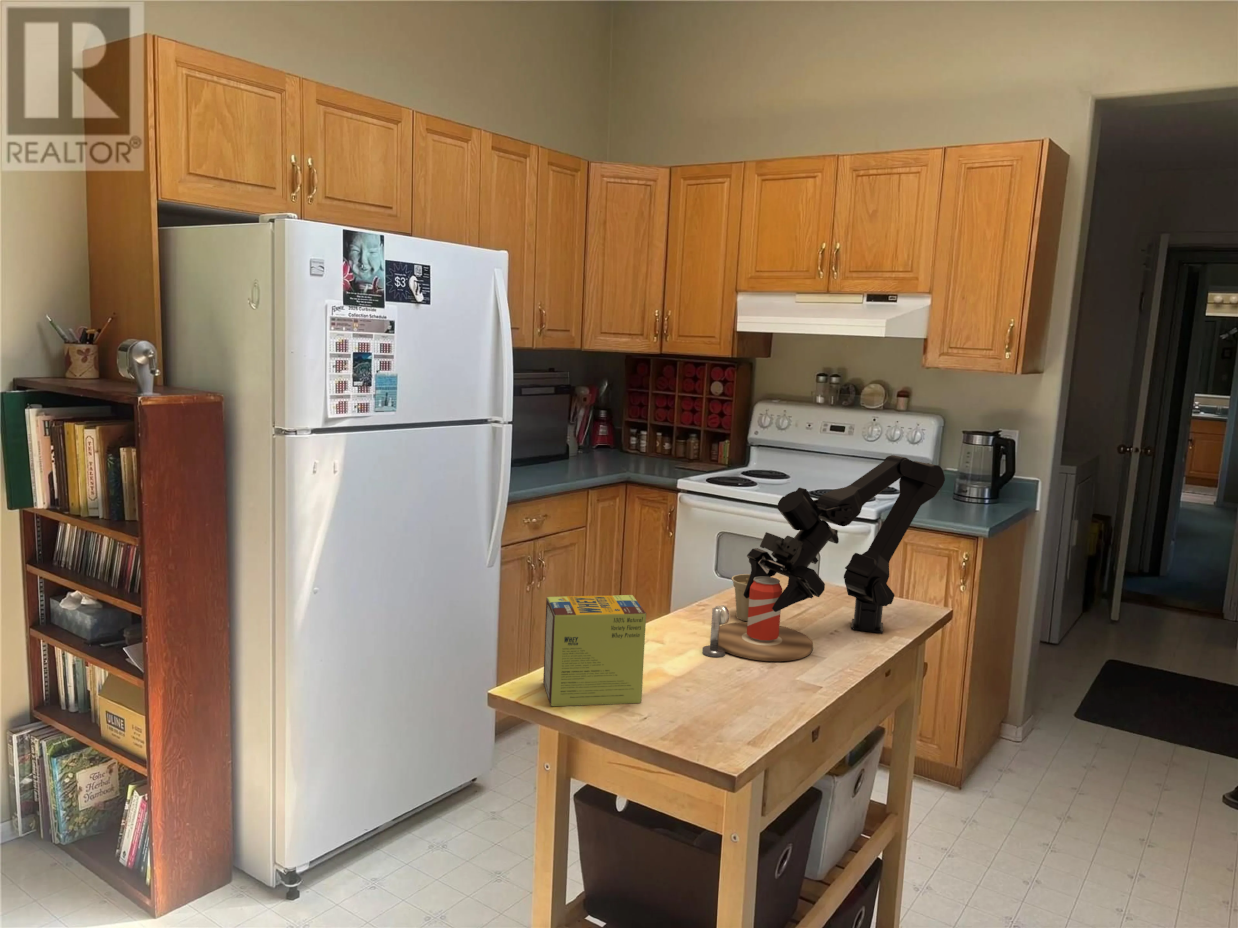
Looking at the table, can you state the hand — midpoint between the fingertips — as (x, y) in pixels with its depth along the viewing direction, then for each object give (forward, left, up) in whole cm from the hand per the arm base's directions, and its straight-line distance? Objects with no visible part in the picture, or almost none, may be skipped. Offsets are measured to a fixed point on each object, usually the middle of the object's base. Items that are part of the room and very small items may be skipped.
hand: (758, 603), depth 178 cm
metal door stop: (+8, -7, -9) cm, 14 cm away
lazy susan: (-1, +1, -9) cm, 9 cm away
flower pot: (-17, -3, -9) cm, 19 cm away
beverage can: (-1, +1, -8) cm, 8 cm away
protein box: (+35, -23, -9) cm, 43 cm away
